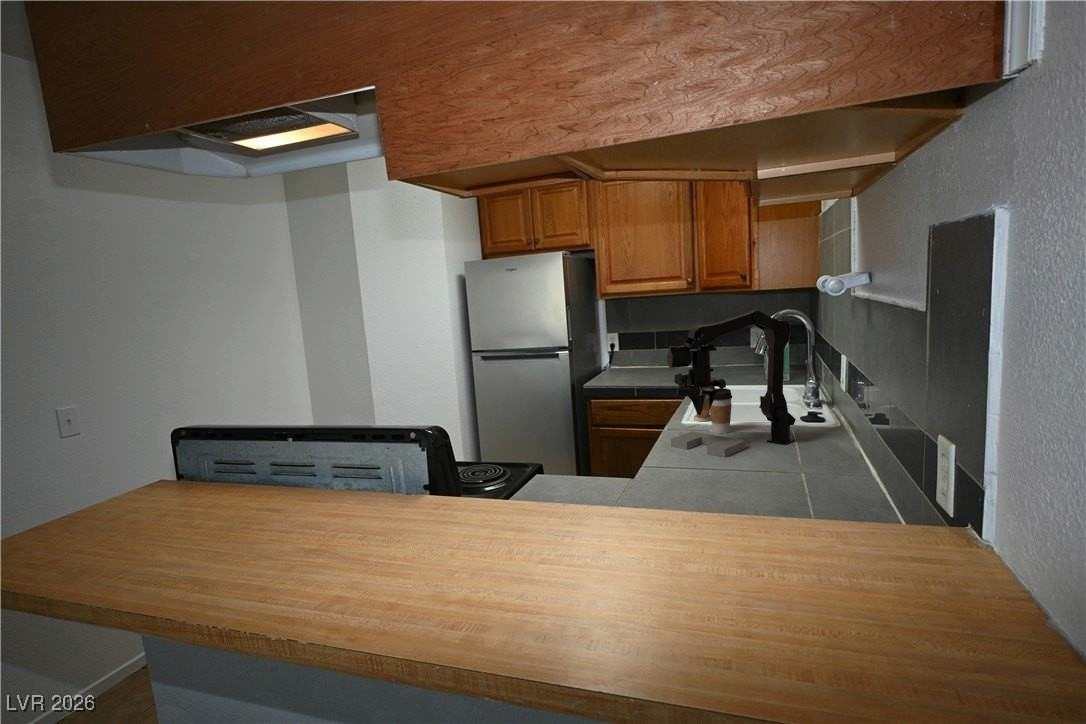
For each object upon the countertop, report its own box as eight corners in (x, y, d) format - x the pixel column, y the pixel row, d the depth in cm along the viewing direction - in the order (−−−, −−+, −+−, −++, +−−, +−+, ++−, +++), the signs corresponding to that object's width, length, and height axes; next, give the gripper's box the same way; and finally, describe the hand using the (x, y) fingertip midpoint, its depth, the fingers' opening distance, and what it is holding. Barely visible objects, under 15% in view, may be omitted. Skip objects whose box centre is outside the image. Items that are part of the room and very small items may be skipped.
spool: (700, 416, 183) (699, 392, 182) (716, 418, 178) (716, 394, 177) (689, 420, 179) (688, 395, 178) (706, 422, 174) (705, 397, 173)
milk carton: (764, 379, 290) (763, 332, 287) (780, 378, 291) (779, 330, 288) (773, 382, 281) (772, 333, 278) (790, 380, 282) (789, 331, 279)
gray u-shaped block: (692, 438, 193) (692, 431, 192) (745, 448, 177) (745, 440, 177) (671, 446, 185) (670, 439, 185) (724, 457, 170) (724, 449, 169)
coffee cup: (737, 430, 199) (736, 388, 197) (727, 435, 193) (725, 393, 191) (715, 427, 204) (714, 387, 202) (704, 432, 198) (703, 391, 196)
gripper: (696, 360, 188) (698, 405, 190) (662, 368, 177) (664, 416, 179) (726, 361, 180) (727, 409, 182) (692, 370, 168) (694, 420, 170)
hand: (703, 413), depth 178 cm, fingers closed on spool, 4 cm apart
